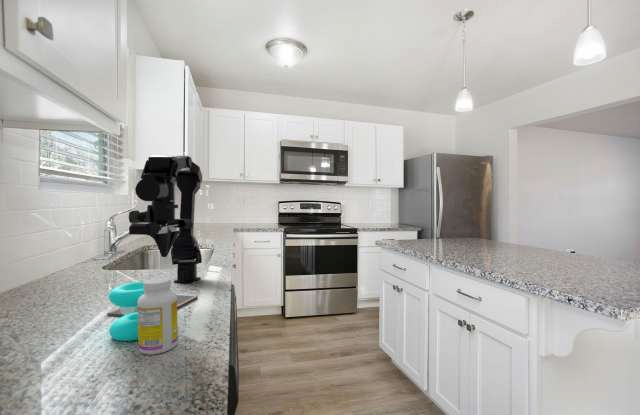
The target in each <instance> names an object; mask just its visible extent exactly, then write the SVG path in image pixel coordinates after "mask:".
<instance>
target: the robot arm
mask: <svg viewBox="0 0 640 415" xmlns="http://www.w3.org/2000/svg"><path fill="white" fill-rule="evenodd" d="M202 173H203V172H202V170H201V168H200V166H198V165H197V164H196V163H195V162H194V161H193V159H192V156H189V155H176V156H174V155H150V156H148V158H147V160H146V161H145V163H144V167H143V170H142V172H141V175H140V179H141V180H139V181H138V182H137V183H136V186H135V187H134V188H135V189H134V190H135V194H136V196H137V198H139V199H140V200H142V201H144V202H151V204H147V206H146V210H145V211H141V212H140V211H139V210H138V209H137V210H132V211H129V212H128V221H129V223H130V225H129V226H128V232H129V233H128V234H129V235H134V236H135V235H140V236H141V235H144V236H149V237H151V238H152V239H153V240H154V243H155V244H156V246H157V248H158V250H159V254H160V257H161V258H166V257H168V255H169V253H170V257H171V264H172V265H173V266H174V265H177V270H176V272H177V274H176V275H177V277H176V278H177V279H174V280H173V283H179V284H180V283H183V284H191V283H193V282H196V281H198V280H200V279H202V278H201V276H200V277H198V276H197V274H198V272H197V270H198V269H197V268H198V267H197V265H199V264H202V263H203V258H202V252H201V249H200V247H199V245H198V244H199V243H198V240H197V238H196V237H195V234H194V228H195V227H194V225H195V207H196V206H195V204H196V203H195V202H196V194H197V193H198V192H199V190H200V189H201V185H202V184H201V183H202V182H203V174H202ZM174 180H175V181H174ZM175 186H176V187H177V188H178V190H179V191H180V206H179V204H175V203H176V201H175ZM179 207H180V208H179ZM176 209H179V218H176ZM177 229H178V230H177Z"/></svg>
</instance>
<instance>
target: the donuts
mask: <svg viewBox="0 0 640 415" xmlns="http://www.w3.org/2000/svg"><path fill="white" fill-rule="evenodd" d="M144 281H145V280H144ZM144 281H134V282H129V283H124V284H121V285H118V286H116V287H113V289H112V290H111V291H110V292H109V295H108V300H109V302H110V304H112V305H114V306H116V307H119V308H120V307H137V302H138V299H139V298H140V296H142V295H143V294H144V293H145V291H144V289H143V282H144ZM109 336H110V337H111V338H112V339H114V340H116V341H119V342H132V341H138V312H135V313H131V314H128V315H125V316H123V317H119V318H118V319H116V320H115V321H113V323H112V324H111V325H110V327H109Z"/></svg>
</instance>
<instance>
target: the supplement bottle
mask: <svg viewBox="0 0 640 415" xmlns="http://www.w3.org/2000/svg"><path fill="white" fill-rule="evenodd" d="M171 286H172V279H171V278H170V277H155V278H154V277H153V278H149V279H146V280H144V282H143V289H144V291H145V293H144V294H143V295H142V296H140V298H139V299H138V302H137V308H138V340H137V341H138V350H139V352H140V353H141V354H144V355H149V356H150V355H159V354H162V353H165V352H166V353H167V352H168V351H170V350H172V349H173V348H175V347H176V345H177V344H178V342H179V332H178V331H179V330H178V325H179V324H178V309H177V295H178V294H177V293H176V292H175V291H173V290H171Z"/></svg>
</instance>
